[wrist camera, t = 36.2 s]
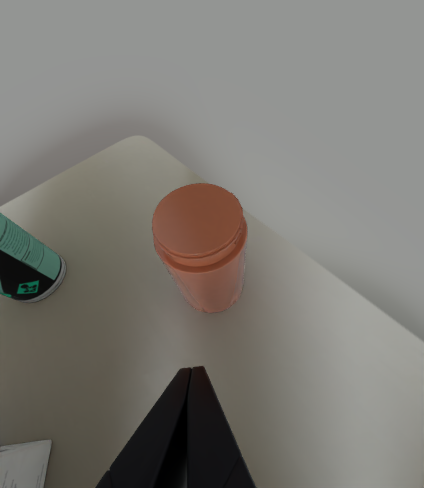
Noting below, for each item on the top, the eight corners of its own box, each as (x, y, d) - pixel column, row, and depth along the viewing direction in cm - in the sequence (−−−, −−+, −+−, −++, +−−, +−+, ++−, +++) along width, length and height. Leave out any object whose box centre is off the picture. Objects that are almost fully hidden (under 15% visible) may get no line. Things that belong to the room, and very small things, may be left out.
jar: (200, 326, 20) (172, 282, 11) (170, 273, 23) (130, 206, 14) (256, 289, 21) (270, 225, 12) (221, 243, 24) (213, 165, 15)
